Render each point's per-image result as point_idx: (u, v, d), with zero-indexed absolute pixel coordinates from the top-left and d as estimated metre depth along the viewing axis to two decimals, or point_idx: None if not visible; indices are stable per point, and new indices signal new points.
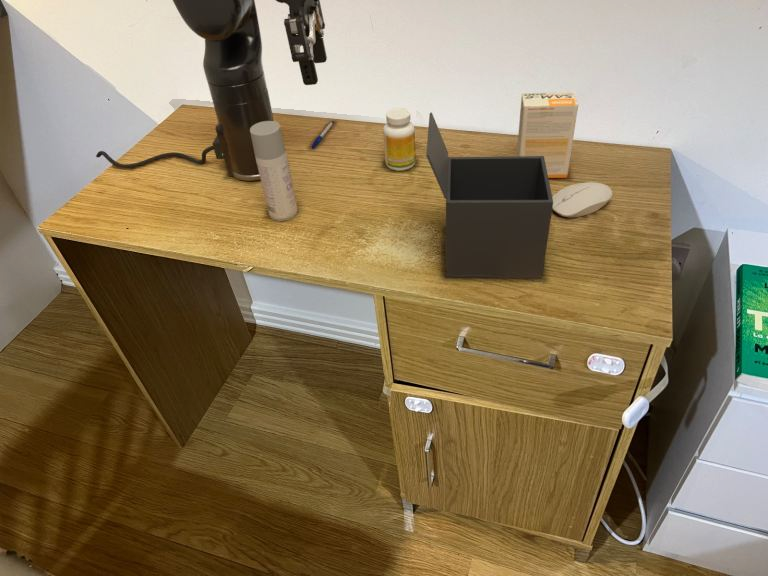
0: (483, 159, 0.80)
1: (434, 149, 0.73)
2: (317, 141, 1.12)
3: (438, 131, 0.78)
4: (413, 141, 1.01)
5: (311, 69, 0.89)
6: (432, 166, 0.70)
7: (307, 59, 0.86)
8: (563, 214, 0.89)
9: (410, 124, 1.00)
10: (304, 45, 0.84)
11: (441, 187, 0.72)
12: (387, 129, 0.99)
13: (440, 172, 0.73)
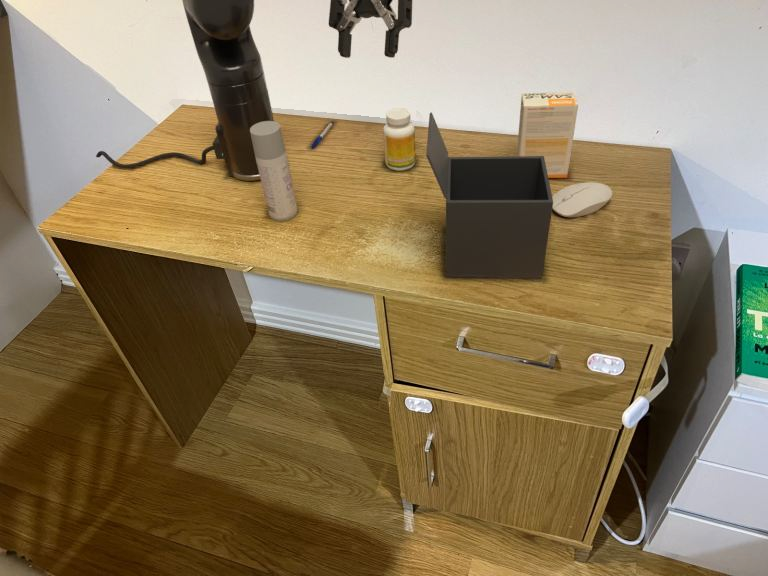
0: (483, 159, 0.80)
1: (434, 149, 0.73)
2: (317, 141, 1.12)
3: (438, 131, 0.78)
4: (413, 141, 1.01)
5: (398, 40, 0.93)
6: (432, 166, 0.70)
7: (410, 25, 0.92)
8: (563, 214, 0.89)
9: (410, 124, 1.00)
10: (411, 11, 0.92)
11: (441, 187, 0.72)
12: (387, 129, 0.99)
13: (440, 172, 0.73)
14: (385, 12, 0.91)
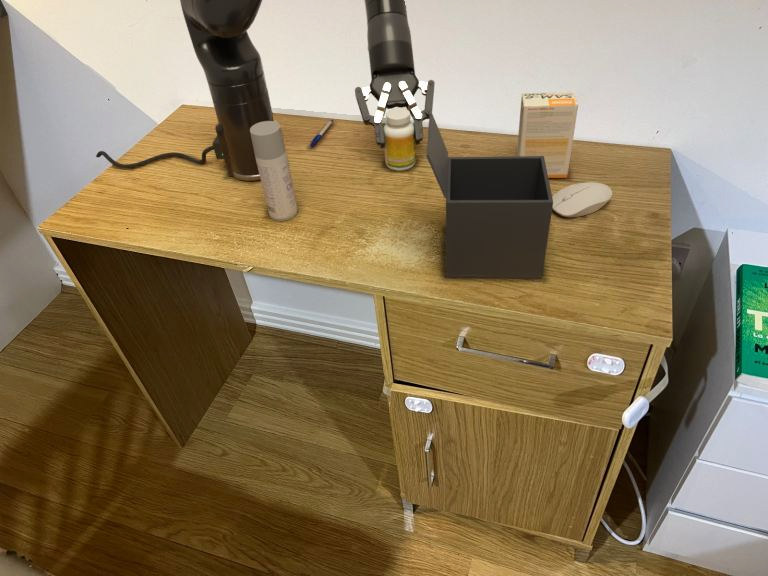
0: (483, 159, 0.80)
1: (434, 149, 0.73)
2: (316, 139, 1.12)
3: (438, 131, 0.78)
4: (413, 141, 1.01)
5: None
6: (432, 166, 0.70)
7: None
8: (563, 214, 0.89)
9: (410, 124, 1.00)
10: None
11: (441, 187, 0.72)
12: (387, 129, 0.99)
13: (440, 172, 0.73)
14: (415, 103, 0.99)
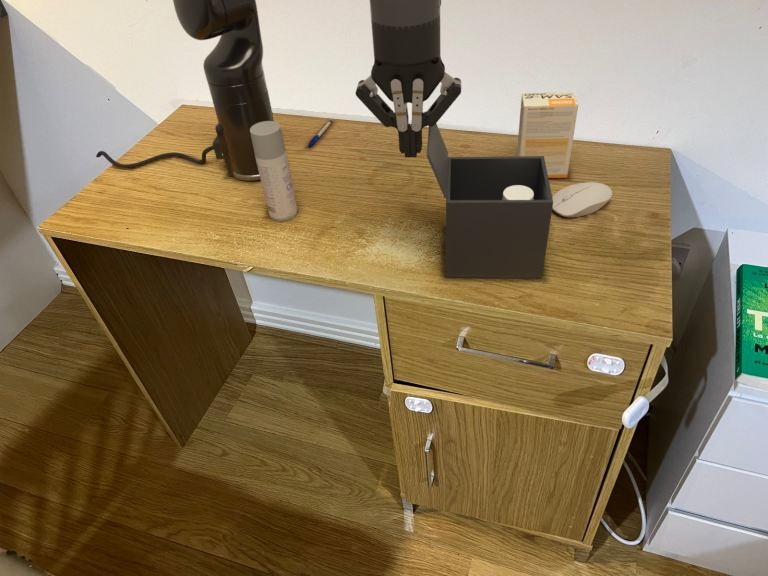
0: (483, 159, 0.80)
1: (434, 149, 0.73)
2: (314, 140, 1.12)
3: (438, 131, 0.78)
4: None
5: (421, 133, 0.74)
6: (432, 166, 0.70)
7: None
8: (563, 214, 0.89)
9: None
10: None
11: (441, 187, 0.72)
12: None
13: (440, 172, 0.73)
14: (420, 113, 0.70)
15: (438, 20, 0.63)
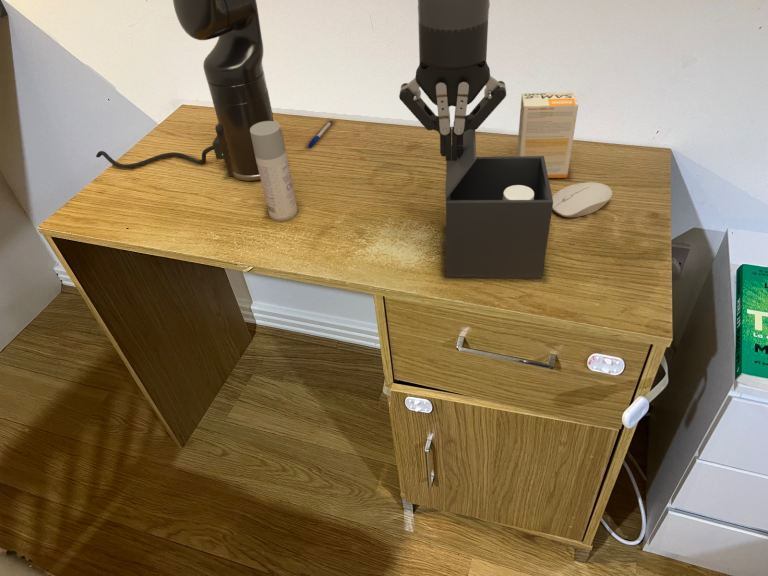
0: (483, 159, 0.80)
1: None
2: (314, 141, 1.12)
3: None
4: None
5: None
6: (467, 169, 0.70)
7: None
8: (563, 214, 0.89)
9: None
10: None
11: (453, 188, 0.72)
12: None
13: None
14: (463, 116, 0.69)
15: (487, 23, 0.63)
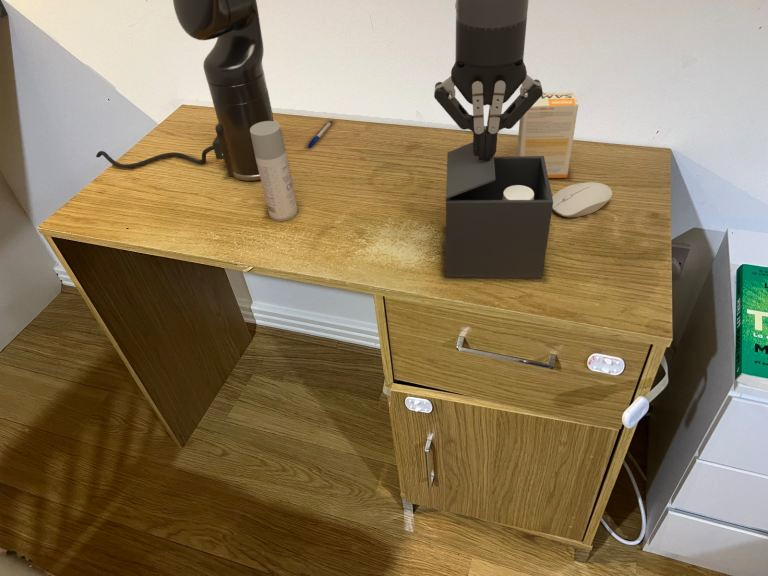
0: None
1: None
2: (314, 141, 1.12)
3: None
4: None
5: None
6: (482, 184, 0.71)
7: None
8: (563, 214, 0.89)
9: None
10: None
11: (458, 193, 0.72)
12: None
13: None
14: (499, 115, 0.69)
15: (525, 21, 0.62)
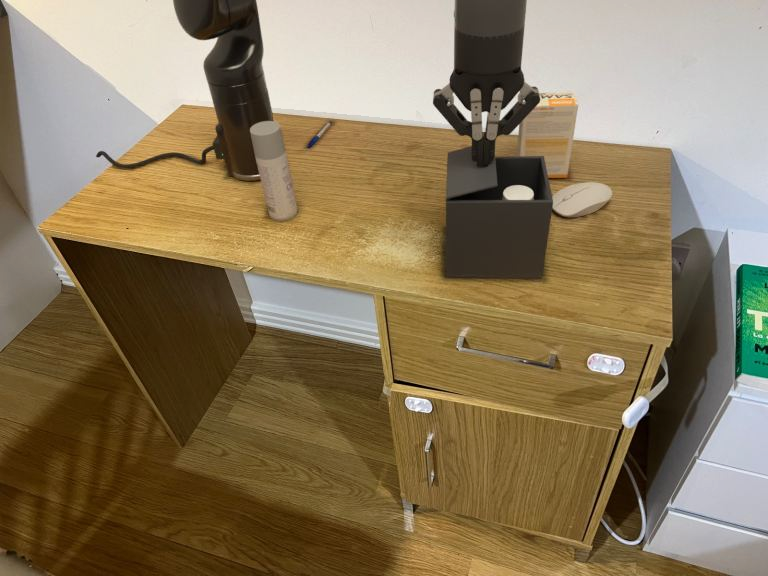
0: None
1: None
2: (313, 141, 1.13)
3: None
4: None
5: None
6: (483, 188, 0.71)
7: None
8: (563, 214, 0.89)
9: None
10: None
11: (458, 195, 0.72)
12: None
13: None
14: (497, 122, 0.70)
15: (523, 30, 0.63)
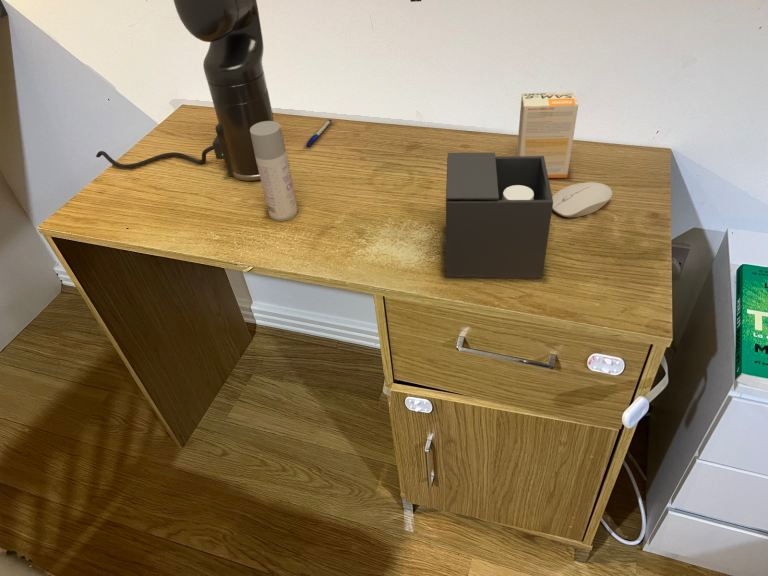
0: None
1: None
2: (312, 139, 1.12)
3: None
4: None
5: None
6: (484, 198, 0.72)
7: None
8: (563, 214, 0.89)
9: None
10: None
11: (459, 198, 0.73)
12: None
13: None
14: None
15: None
